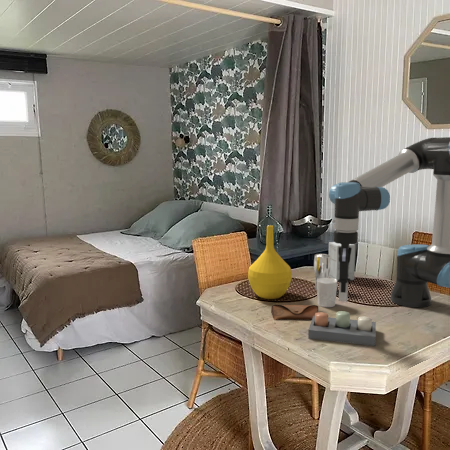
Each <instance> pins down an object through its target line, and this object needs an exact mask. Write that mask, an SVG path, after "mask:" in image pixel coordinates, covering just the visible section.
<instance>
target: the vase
mask: <svg viewBox="0 0 450 450" xmlns="http://www.w3.org/2000/svg"><path fill="white" fill-rule="evenodd" d="M274 237H275V236H274V225H271V224H270V225H267V226H266V240H265V241H266V243H265V244H266V246H265V249H264V250H263V252H262V253H261V254H260V256H258V258H257V259H256V260H255V261H254V262H253V263H252V264H251V265H250V266H249V267H248V272H247V278H248V281H249V285H250V288H251V290H252V291H253V293H254V294H256V295H257V296H258V297H259V298H261V299H265V300H274V299H279V298H281V297H282V296H284V295H285V294H286V292H287V290H289V287H290V286H291V282H292V279H293V274H292V268H291V266H290V265H289V264H288V263H287V262H286V261H285V260H284V259H283V258H282V257H281V255H279V253H278V252H277V251H276V249H275V246H274V243H275V241H274Z"/></svg>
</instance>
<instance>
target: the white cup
mask: <svg viewBox="0 0 450 450" xmlns="http://www.w3.org/2000/svg"><path fill="white" fill-rule="evenodd" d="M337 287H338V282H337V280H336V279H333V278H330V277H328V278H319V279H317V290H316V294H317V296H316V297H317V306H318V307H319V306H320V307H322V308H332V307H333V308H334V307H335V306H336V298H337Z"/></svg>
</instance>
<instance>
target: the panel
mask: <svg viewBox="0 0 450 450" xmlns="http://www.w3.org/2000/svg"><path fill="white" fill-rule="evenodd" d="M376 323H377V322H376V321H372V328H371V332H370V331H360V330H357V329H358V319H351V318H350V326H349V327H338V326H337V325H336V317H331V316H330V317H329V316H328V327H322V326H315V316H313V318H312V320H310V324H309V327H308V333H307V335H308V336H307V338H308V339H309V340H310V339H312V340H320V341H327V342H328V341H329V342H335V343H336V342H337V343H345V344H346V343H348V344H354V345H355V344H356V345H363V346H364V345H365V346H372V347H376V338H377V337H376V335H377V334H376V332H377V329H376V327H377V325H376Z"/></svg>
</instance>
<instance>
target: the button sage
mask: <svg viewBox="0 0 450 450" xmlns="http://www.w3.org/2000/svg"><path fill="white" fill-rule="evenodd" d="M335 318H336V325H337V326H338V327H349V326H350V319H351V313H350V312H348V311H345V310H343V311H342V310H340V311H337V312H336V313H335Z"/></svg>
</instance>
